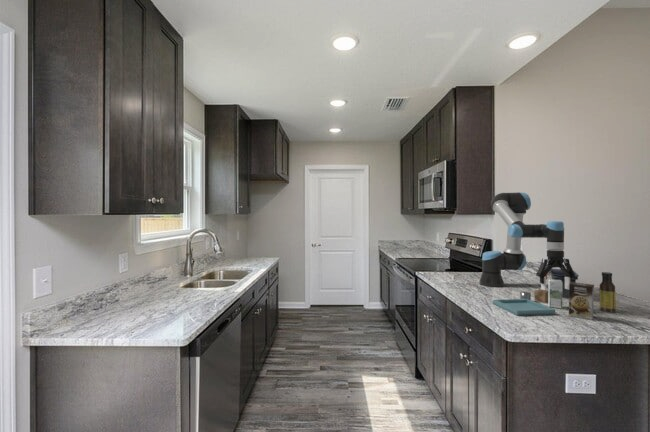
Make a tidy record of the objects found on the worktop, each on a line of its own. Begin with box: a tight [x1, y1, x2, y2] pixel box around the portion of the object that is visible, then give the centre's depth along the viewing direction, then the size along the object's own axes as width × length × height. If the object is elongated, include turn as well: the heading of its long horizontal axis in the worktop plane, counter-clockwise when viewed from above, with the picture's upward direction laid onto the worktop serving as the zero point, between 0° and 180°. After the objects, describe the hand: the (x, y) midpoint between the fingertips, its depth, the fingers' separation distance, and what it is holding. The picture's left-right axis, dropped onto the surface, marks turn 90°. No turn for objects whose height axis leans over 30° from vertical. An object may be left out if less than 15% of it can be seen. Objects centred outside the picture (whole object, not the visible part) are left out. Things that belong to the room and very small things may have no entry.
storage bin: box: [544, 268, 580, 299], centre depth 196 cm, size 21×16×14 cm
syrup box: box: [547, 278, 563, 310], centre depth 172 cm, size 6×6×14 cm
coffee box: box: [568, 281, 595, 321], centre depth 156 cm, size 9×6×16 cm
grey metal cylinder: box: [519, 291, 532, 300], centre depth 183 cm, size 5×5×5 cm
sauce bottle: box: [598, 271, 617, 313], centre depth 164 cm, size 6×6×20 cm
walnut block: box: [534, 288, 548, 304], centre depth 183 cm, size 6×6×6 cm
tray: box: [492, 298, 556, 317], centre depth 168 cm, size 20×20×2 cm
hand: (555, 289), depth 171 cm, fingers open, 13 cm apart
